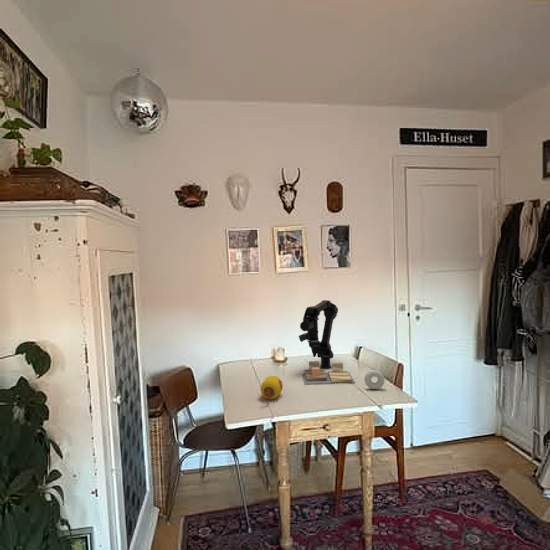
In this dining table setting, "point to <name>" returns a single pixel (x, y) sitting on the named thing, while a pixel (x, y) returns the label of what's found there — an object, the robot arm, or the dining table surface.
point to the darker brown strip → (309, 372)
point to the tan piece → (339, 373)
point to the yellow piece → (271, 387)
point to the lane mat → (323, 380)
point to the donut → (374, 374)
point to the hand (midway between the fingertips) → (313, 355)
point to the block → (315, 371)
